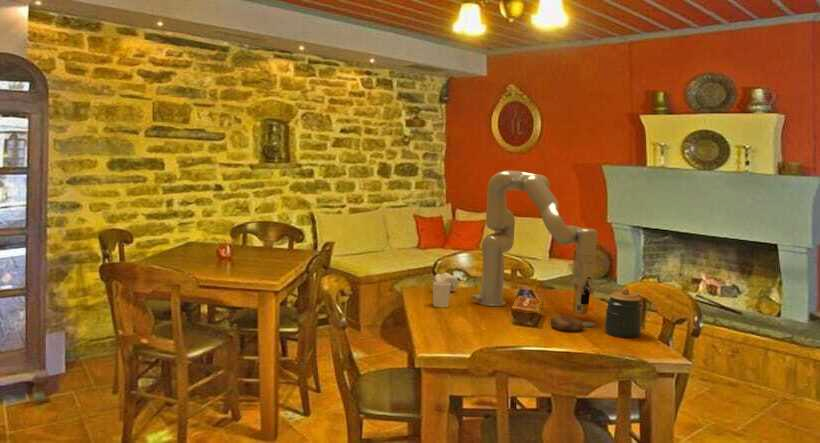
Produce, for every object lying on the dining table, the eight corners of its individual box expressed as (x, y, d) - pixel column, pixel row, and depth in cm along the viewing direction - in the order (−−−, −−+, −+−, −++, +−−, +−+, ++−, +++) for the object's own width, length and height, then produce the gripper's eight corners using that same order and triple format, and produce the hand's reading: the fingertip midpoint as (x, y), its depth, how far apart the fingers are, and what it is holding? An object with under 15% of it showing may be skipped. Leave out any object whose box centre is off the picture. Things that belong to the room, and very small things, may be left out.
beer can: (587, 311, 249) (591, 276, 248) (587, 315, 244) (590, 279, 242) (572, 309, 251) (576, 274, 249) (571, 313, 246) (575, 277, 244)
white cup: (429, 306, 260) (430, 283, 259) (435, 303, 267) (436, 280, 266) (446, 309, 257) (447, 285, 256) (452, 305, 264) (453, 282, 263)
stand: (557, 332, 227) (558, 324, 226) (545, 323, 238) (546, 316, 238) (587, 332, 228) (588, 324, 228) (574, 323, 240) (574, 316, 240)
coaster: (581, 327, 235) (581, 325, 235) (573, 322, 242) (573, 321, 242) (598, 327, 236) (598, 325, 236) (590, 322, 243) (590, 321, 243)
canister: (636, 340, 220) (640, 293, 218) (600, 334, 226) (603, 288, 225) (643, 332, 231) (647, 287, 229) (609, 326, 238) (612, 282, 236)
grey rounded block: (448, 296, 282) (449, 277, 281) (426, 292, 288) (427, 274, 287) (460, 292, 291) (460, 274, 290) (438, 288, 298) (439, 270, 297)
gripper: (567, 254, 253) (563, 296, 255) (585, 262, 236) (581, 307, 238) (584, 255, 254) (580, 296, 256) (603, 263, 237) (599, 307, 239)
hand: (581, 301), depth 247 cm, fingers closed on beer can, 6 cm apart
